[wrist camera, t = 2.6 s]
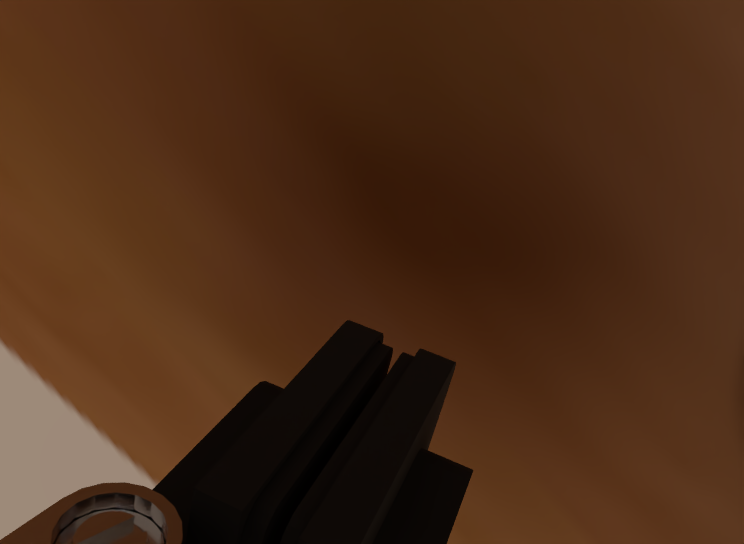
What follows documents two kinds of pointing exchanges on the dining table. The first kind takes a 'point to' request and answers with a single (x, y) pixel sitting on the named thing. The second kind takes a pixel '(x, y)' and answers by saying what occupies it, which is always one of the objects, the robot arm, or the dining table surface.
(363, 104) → the dining table surface
